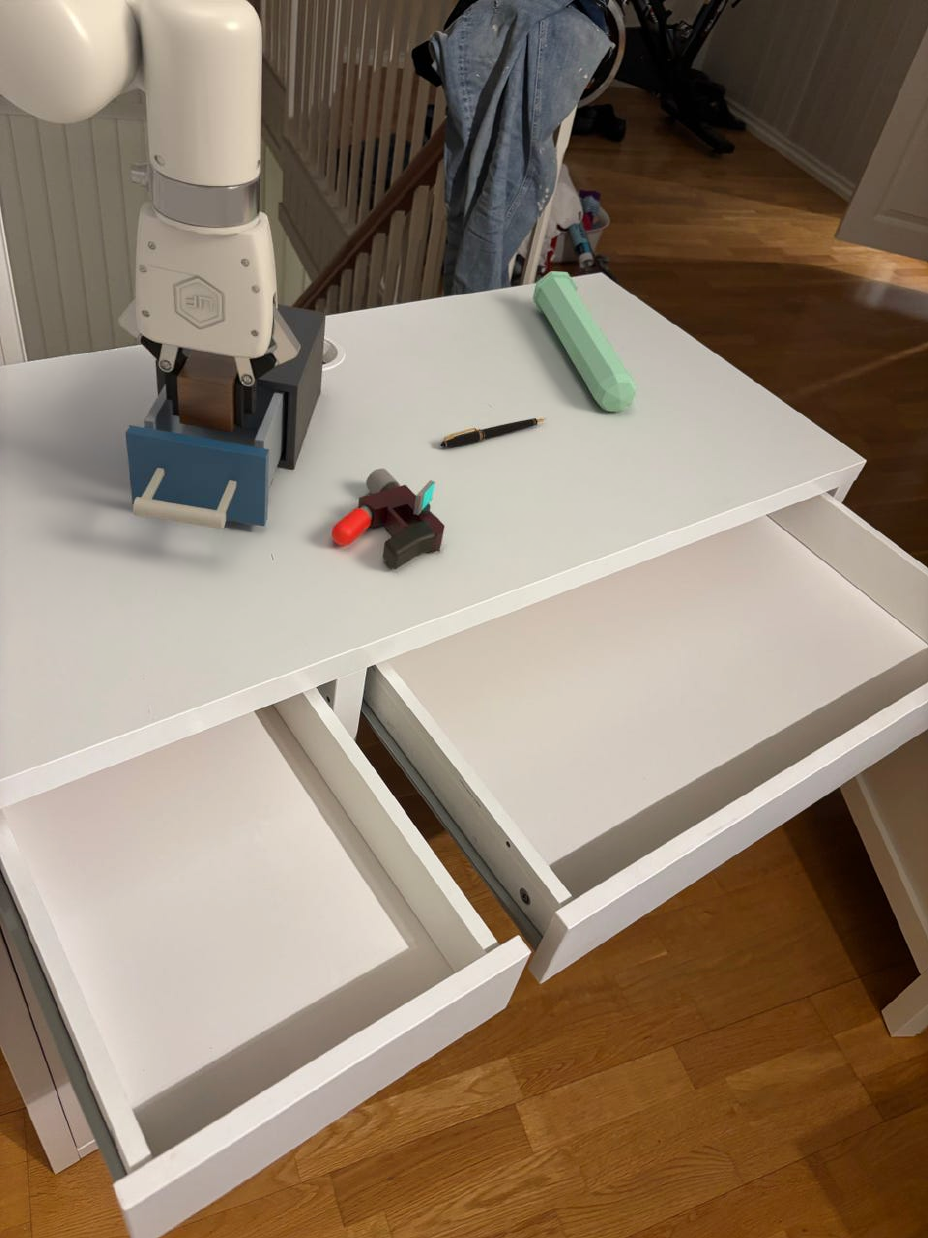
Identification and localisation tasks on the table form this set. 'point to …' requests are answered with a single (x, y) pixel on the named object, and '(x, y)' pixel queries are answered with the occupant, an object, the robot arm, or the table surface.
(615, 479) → the table surface
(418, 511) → the toy gun
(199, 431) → the drawer
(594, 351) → the container
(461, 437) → the fountain pen
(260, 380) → the cabinet
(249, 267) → the robot arm
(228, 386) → the block
